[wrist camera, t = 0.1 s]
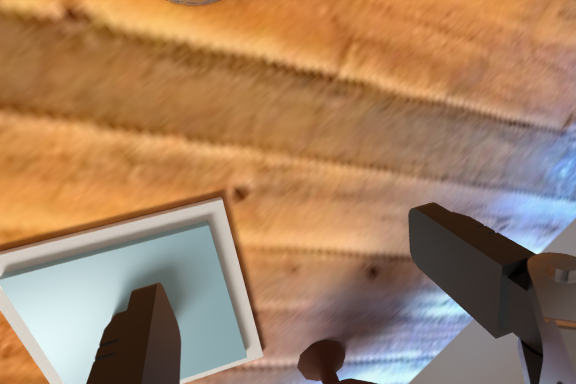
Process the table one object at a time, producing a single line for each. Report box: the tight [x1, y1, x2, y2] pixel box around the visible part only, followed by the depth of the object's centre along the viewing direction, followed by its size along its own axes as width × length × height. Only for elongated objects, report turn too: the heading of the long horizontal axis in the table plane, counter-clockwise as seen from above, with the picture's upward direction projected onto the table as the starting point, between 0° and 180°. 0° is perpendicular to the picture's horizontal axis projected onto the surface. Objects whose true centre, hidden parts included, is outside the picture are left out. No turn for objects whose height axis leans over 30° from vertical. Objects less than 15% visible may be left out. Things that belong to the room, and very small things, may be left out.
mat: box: [0, 196, 263, 384], centre depth 30 cm, size 18×18×1 cm
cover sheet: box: [0, 221, 247, 384], centre depth 27 cm, size 15×15×6 cm
